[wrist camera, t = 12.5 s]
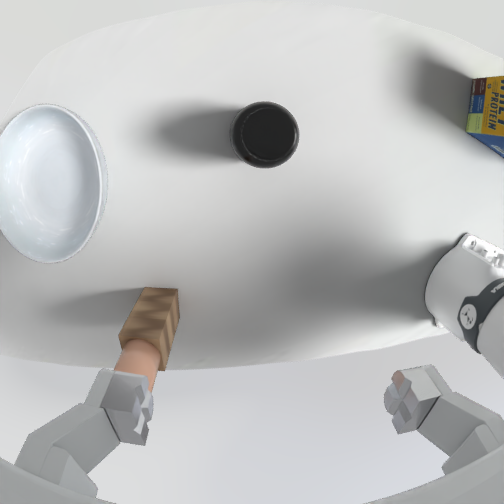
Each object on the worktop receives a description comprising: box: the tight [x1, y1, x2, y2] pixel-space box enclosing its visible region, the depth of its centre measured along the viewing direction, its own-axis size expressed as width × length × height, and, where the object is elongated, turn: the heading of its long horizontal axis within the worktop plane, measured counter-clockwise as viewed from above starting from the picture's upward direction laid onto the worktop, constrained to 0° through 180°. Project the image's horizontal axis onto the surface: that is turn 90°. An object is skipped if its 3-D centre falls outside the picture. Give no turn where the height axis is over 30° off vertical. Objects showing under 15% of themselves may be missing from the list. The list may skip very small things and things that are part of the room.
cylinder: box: [114, 339, 161, 393], centre depth 29 cm, size 5×5×6 cm
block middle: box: [129, 301, 175, 350], centre depth 37 cm, size 5×5×4 cm
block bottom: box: [137, 287, 180, 332], centre depth 41 cm, size 5×5×4 cm
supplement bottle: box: [230, 102, 299, 168], centre depth 29 cm, size 7×7×12 cm
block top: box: [118, 317, 170, 371], centre depth 33 cm, size 5×5×4 cm
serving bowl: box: [0, 104, 108, 263], centre depth 32 cm, size 21×21×7 cm
